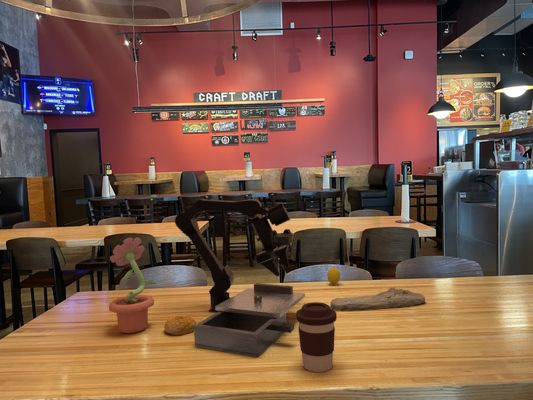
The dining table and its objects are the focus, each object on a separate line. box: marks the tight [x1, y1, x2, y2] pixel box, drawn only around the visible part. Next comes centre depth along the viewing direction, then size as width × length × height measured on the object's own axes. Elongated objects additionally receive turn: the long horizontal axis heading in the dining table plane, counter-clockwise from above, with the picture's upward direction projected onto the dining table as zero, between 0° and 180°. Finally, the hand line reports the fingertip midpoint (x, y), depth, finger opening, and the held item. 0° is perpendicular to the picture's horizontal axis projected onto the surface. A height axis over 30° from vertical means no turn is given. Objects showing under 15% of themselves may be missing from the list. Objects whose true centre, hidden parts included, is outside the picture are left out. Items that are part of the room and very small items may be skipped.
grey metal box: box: [193, 311, 295, 358], centre depth 115 cm, size 26×20×6 cm
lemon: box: [326, 266, 341, 286], centre depth 170 cm, size 6×6×8 cm
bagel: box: [163, 315, 197, 336], centre depth 125 cm, size 10×11×5 cm
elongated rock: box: [329, 286, 426, 312], centre depth 141 cm, size 35×5×10 cm
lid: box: [215, 282, 306, 318], centre depth 128 cm, size 22×22×4 cm
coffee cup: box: [295, 301, 338, 373], centre depth 97 cm, size 10×10×15 cm
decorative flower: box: [108, 237, 157, 334], centre depth 126 cm, size 15×14×30 cm
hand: (283, 271), depth 140 cm, fingers open, 9 cm apart
